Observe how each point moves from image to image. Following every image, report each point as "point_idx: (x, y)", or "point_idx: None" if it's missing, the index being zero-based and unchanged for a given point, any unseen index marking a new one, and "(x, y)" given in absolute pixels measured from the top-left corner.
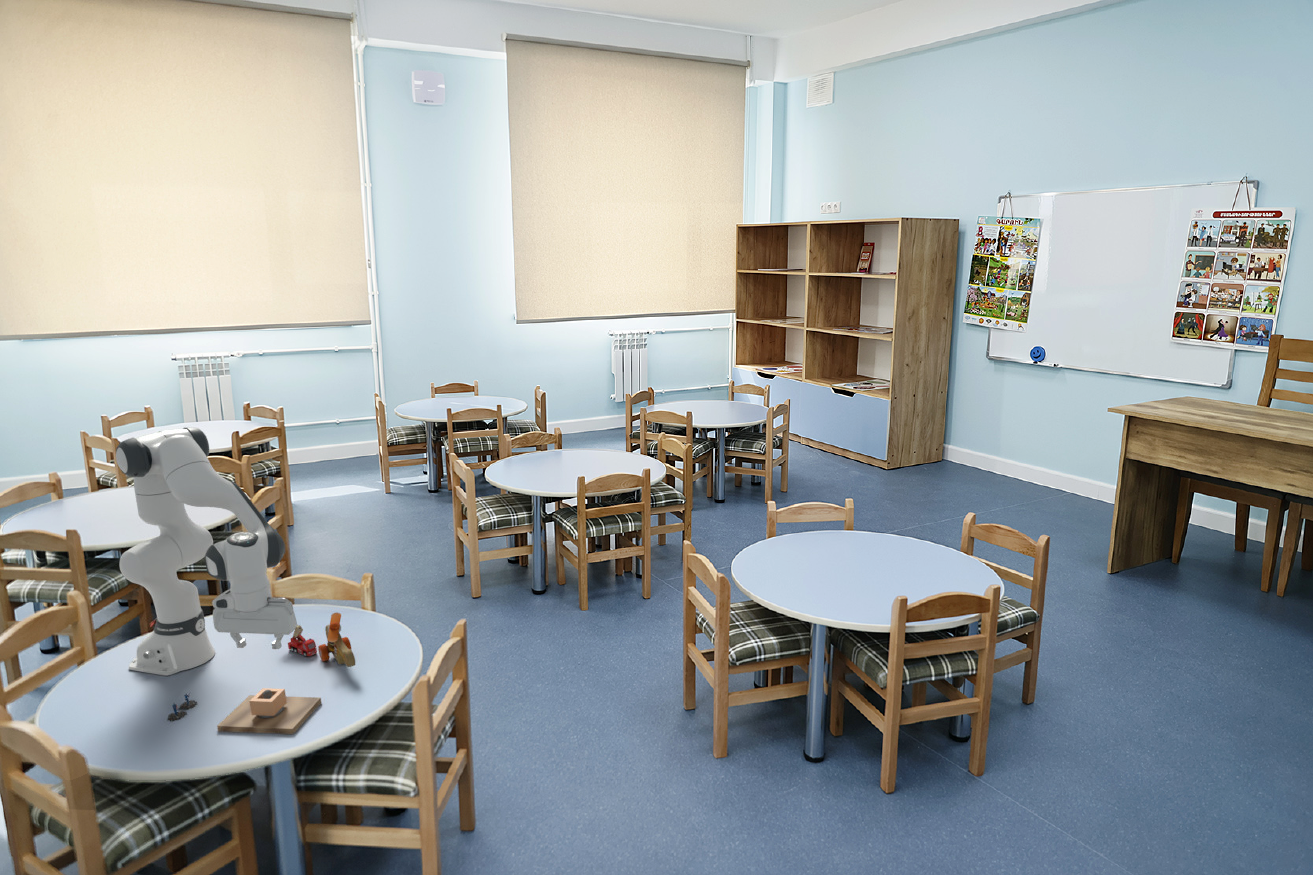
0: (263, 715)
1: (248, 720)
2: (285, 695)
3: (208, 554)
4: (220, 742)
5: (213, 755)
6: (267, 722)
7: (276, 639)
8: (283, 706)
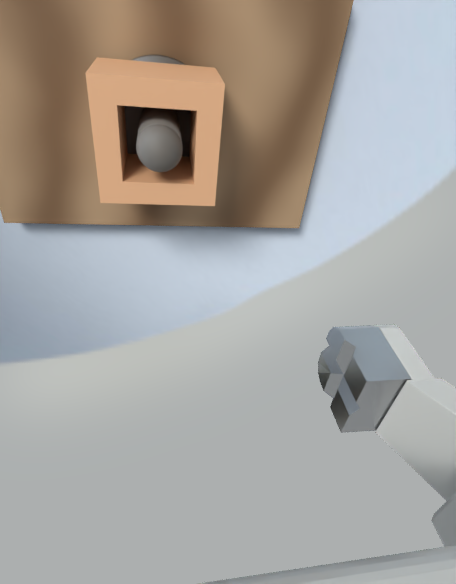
0: None
1: None
2: (219, 76)
3: None
4: (75, 264)
5: (103, 313)
6: None
7: (434, 485)
8: None
